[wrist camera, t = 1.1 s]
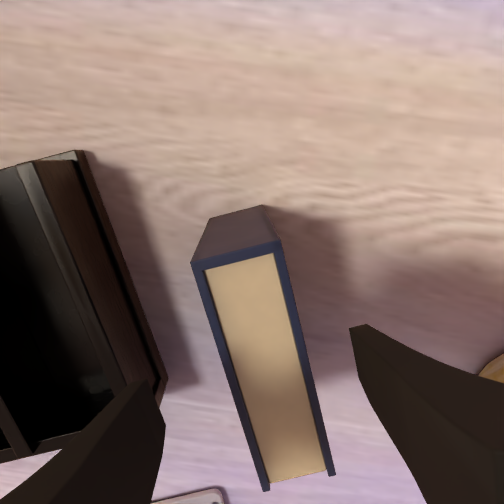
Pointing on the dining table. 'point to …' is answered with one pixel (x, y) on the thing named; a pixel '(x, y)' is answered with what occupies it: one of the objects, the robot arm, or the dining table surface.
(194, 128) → the dining table surface
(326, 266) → the dining table surface
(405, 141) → the dining table surface
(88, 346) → the rack
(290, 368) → the book
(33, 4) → the dining table surface
